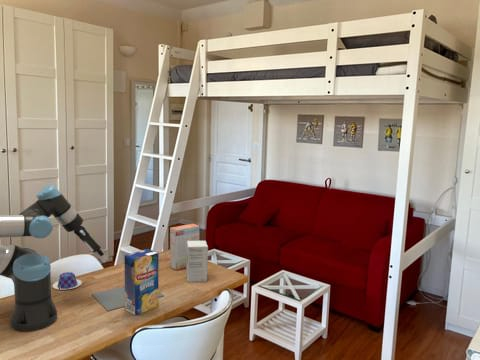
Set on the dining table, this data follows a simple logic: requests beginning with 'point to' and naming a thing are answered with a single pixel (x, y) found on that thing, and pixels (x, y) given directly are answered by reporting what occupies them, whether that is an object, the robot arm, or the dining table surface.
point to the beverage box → (141, 281)
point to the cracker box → (181, 244)
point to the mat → (113, 298)
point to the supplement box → (197, 261)
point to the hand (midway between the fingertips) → (100, 255)
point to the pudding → (67, 281)
